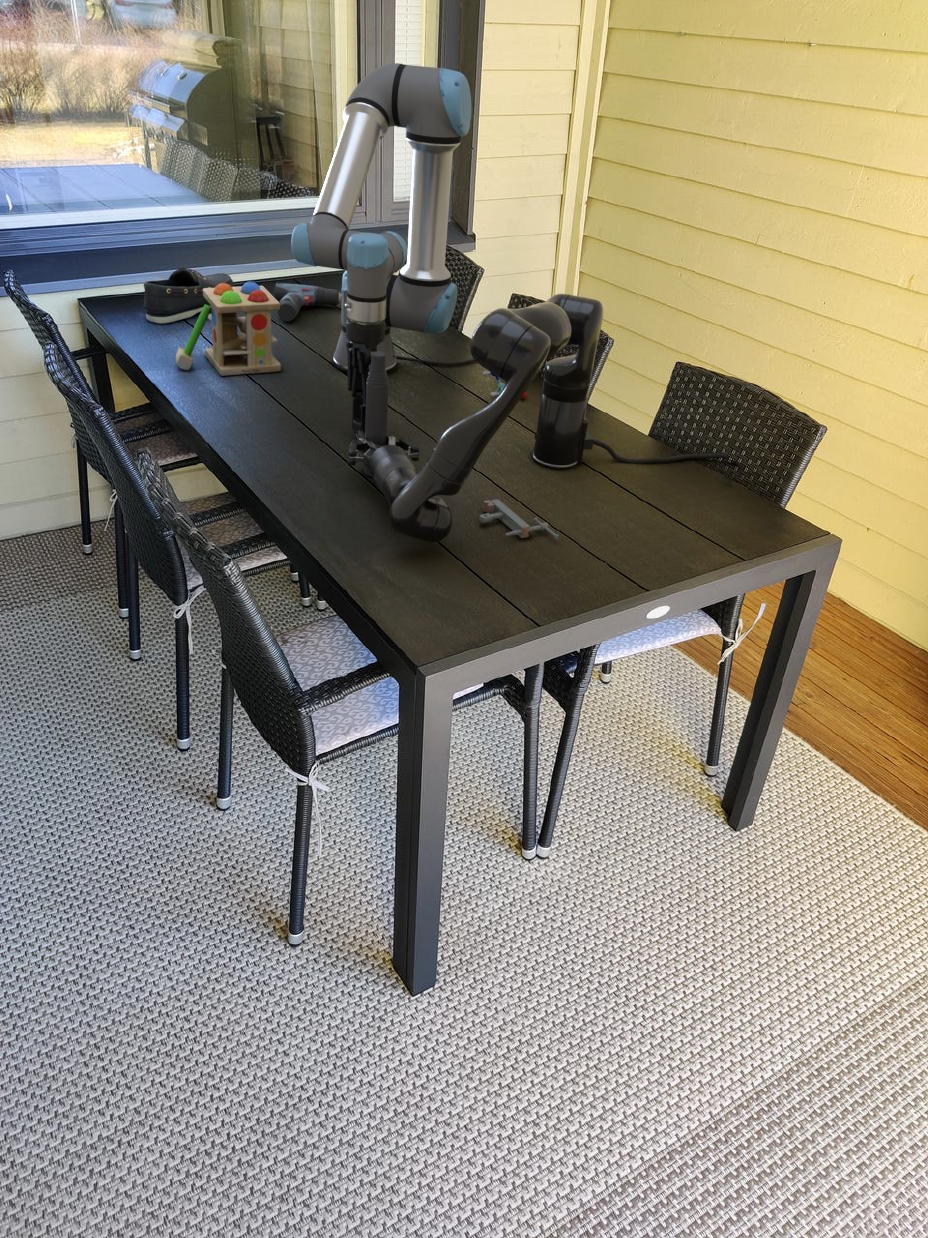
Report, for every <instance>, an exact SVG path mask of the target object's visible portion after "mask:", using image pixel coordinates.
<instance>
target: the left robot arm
mask: <svg viewBox="0 0 928 1238" xmlns="http://www.w3.org/2000/svg"><path fill="white" fill-rule="evenodd" d="M342 120H343V123H344V124H343V127H342V130H341V134H340V136H339V139H338V142H337V145H336V147H335V150H334V153H333V156H332V160H331V163H330V165H329V168H328V171H327V174H326V177H325V180H324V182H323V186H322V188H321V192H320V195H319V197H318V200H317V203H316V206H315V208H314V211H313V214H312V217H311V220H310V222H309V223H308V222H305V223H303V222H300V223H297V225H296V226H295V227H294V228H293V231H292V234H291V240H290V241H291V242H290V246H291V253H292V255H293V258H294V259H295V261H297V262H298V263H301V264H305V265H309V266H313V267H322V268H328V269H335V270H342V271H344V272H343V274H342V277H341V278H342V281H341V287H340V292H341V294H342V302H341V313H340V314H341V316H340V317H341V319H340V321H341V324H340V325H341V326H340V329H341V330H340V336H339V338H338V341H337V344H336V348H335V350H334V352H333V361H332V362H333V363H332V364H333V366H334V367H335V368H337V369H338V370H339V371H342V372H344V373H347V391H348V392H350V395H351V397H352V404H351V405H352V407H351V409H352V411H351V429H352V430H353V421H354V418H355V417H359V416H361V429H360V431H363V433H364V435H365V416H366V382H367V378H368V375H369V372H370V369H371V353H372V352H377V351H378V352H384V353H385V354H386V362H385V370H386V373H387V374H389V373H391V372H393V371H395V369H396V368H397V361H398V360H399V361H406V362H414V363H420V364H427V365H432V366H460V365H466V364H471V363H475V362H476V361H475V360H474V358H471V359H466V360H461V361H433V360H427V359H420V358H414V357H413V358H412V357H406V356H399V355H397V354H396V352H395V347H394V343H393V341H392V337H391V336H392V335H391V328H394V329H399V330H400V329H401V330H407V331H413V332H417V333H418V332H419V333H423V334H425V335H427V334H433V335H434V334H436V335H441V334H442V333H443V334H444V332H446V330H447V329H448V327H449V325H450V323H451V321H452V318H453V315H454V311H455V308H456V304H457V300H458V286H457V284H456V283H454V282H451V272H450V271H449V270H448V268H447V267H446V253H447V251H446V250H447V239H448V238H447V237H448V223H449V211H450V210H449V208H450V197H451V196H450V194H451V182H452V166H453V155H454V153H453V152H454V151H455V150H456V149H457V148H458V147H459V146H460V145H461V141H462V140H461V139H462V137H465V136H467V135H468V133H469V132H470V128H471V120H472V95H471V89H470V84H469V81H468V79H467V77H466V76H465V74H463V73H462V72H461V71H457V70H454V69H453V70H452V69H448V68H444V67H434V66H433V67H432V66H422V65H413V64H412V65H411V64H404V63H399V62H395V63H394V62H393V63H386V64H384V65H382V66H379V67H377V68H376V69H374V70H373V71H371V72H369V73H368V74H367V75H366V76H364V77H363V78H362V79H361V81H360V82H358V83H357V85H356V87H354V88H353V90H352V92H351V94H350V95H349V97H348V98H347V100H346V103H345V106H344V109H343V112H342ZM391 127H397V128H403V129H405V140H406V142H407V143H408V144H409V145H410V147H411V149H412V154H411V171H410V190H409V191H410V193H409V210H408V211H409V215H408V235H407V243H406V241H405V240H404V238H403V237H402V236H401V235H400V234H398V232H397V233H396V232H394V231H389V230H387V231H382V232H379V233H375V232H374V233H373V232H363V231H356V230H350V227H351V223H352V221H353V218H354V214H355V212H356V209H357V206H358V203H359V200H360V197H361V194H362V192H363V189H364V187H365V186H364V184H365V183H366V179H367V177H368V174H369V172H370V168H371V165H372V162H373V159H374V156H375V153H376V150H377V147H378V144H379V141H380V140H381V139H383V138H384V137H385V136H386V135H387V133H388V130H389V128H391ZM398 272H399V275H397V274H396V273H398Z"/></svg>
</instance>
